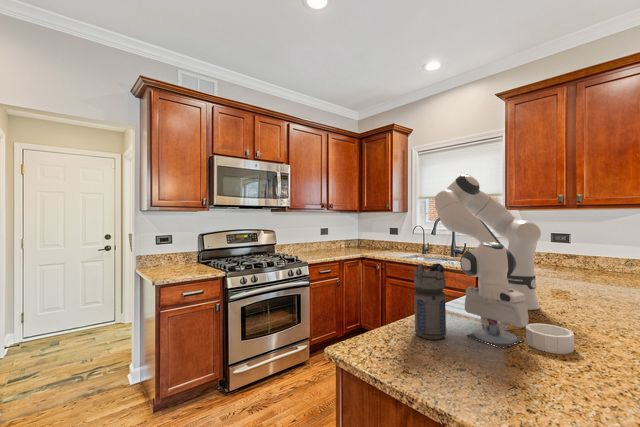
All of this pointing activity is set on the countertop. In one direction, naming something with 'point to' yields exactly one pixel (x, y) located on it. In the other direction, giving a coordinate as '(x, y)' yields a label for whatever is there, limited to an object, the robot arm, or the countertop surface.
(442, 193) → the robot arm
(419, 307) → the beverage bottle
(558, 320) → the countertop surface
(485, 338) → the lid
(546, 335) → the bowl
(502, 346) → the mat
